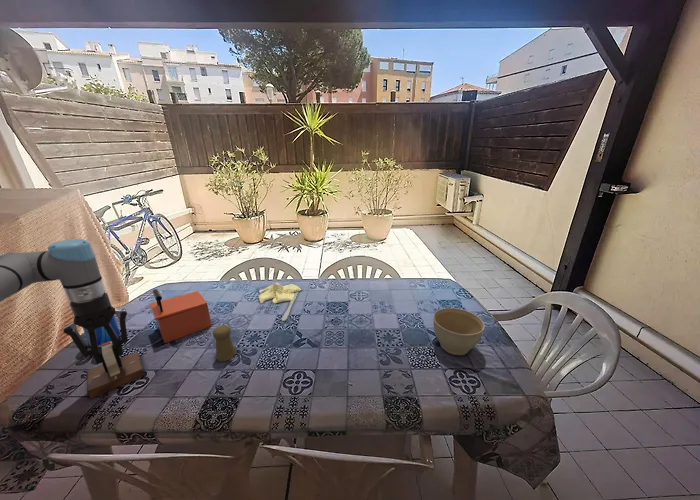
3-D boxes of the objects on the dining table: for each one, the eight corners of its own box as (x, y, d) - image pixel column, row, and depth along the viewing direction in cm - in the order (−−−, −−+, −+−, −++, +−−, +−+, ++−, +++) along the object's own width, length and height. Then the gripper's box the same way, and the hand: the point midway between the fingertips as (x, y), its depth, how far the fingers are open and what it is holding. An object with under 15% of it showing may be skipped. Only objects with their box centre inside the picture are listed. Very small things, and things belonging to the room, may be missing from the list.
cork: (239, 352, 92) (235, 325, 88) (225, 364, 87) (220, 335, 83) (227, 347, 94) (222, 320, 90) (212, 358, 89) (206, 330, 85)
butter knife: (278, 320, 109) (285, 319, 108) (294, 289, 134) (300, 289, 134) (278, 321, 109) (285, 321, 109) (295, 290, 134) (301, 290, 134)
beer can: (84, 345, 95) (69, 305, 89) (112, 331, 102) (99, 294, 97) (99, 352, 92) (83, 311, 86) (126, 337, 99) (113, 298, 94)
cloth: (304, 286, 137) (303, 274, 135) (292, 305, 120) (291, 292, 118) (262, 284, 140) (260, 273, 138) (245, 302, 123) (243, 290, 120)
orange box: (164, 344, 96) (158, 320, 92) (158, 328, 104) (152, 306, 101) (211, 326, 106) (207, 304, 102) (202, 313, 114) (198, 292, 111)
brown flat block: (90, 399, 74) (87, 390, 73) (90, 378, 81) (87, 370, 80) (144, 376, 82) (141, 368, 81) (140, 359, 89) (137, 351, 88)
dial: (120, 372, 79) (112, 349, 76) (110, 376, 78) (101, 353, 75) (118, 362, 83) (111, 340, 80) (109, 366, 81) (101, 343, 79)
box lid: (155, 320, 92) (150, 301, 89) (149, 305, 100) (145, 288, 98) (207, 304, 102) (204, 287, 100) (198, 292, 111) (195, 276, 109)
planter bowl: (480, 340, 98) (485, 314, 95) (477, 369, 85) (482, 340, 81) (435, 327, 105) (438, 303, 102) (425, 352, 92) (428, 325, 88)
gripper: (45, 313, 65) (77, 389, 72) (126, 292, 74) (147, 361, 82) (48, 301, 70) (78, 373, 78) (123, 283, 80) (143, 349, 87)
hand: (113, 367), depth 80 cm, fingers closed on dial, 2 cm apart
